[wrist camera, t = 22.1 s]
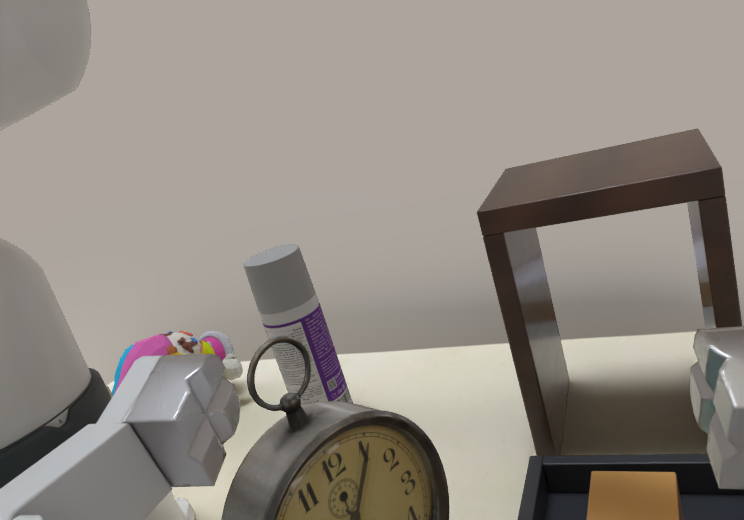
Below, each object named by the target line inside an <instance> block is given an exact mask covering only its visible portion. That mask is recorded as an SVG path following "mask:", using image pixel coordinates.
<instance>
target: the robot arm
mask: <svg viewBox="0 0 744 520" xmlns="http://www.w3.org/2000/svg"><path fill="white" fill-rule="evenodd" d="M90 46H91V23H90V13H89V9H88V4H87V0H0V131H1V130H3V129H5V128H6V127H8V126H10V125H12V124H14V123H16V122H18V121H20V120H22V119H24V118H26V117H28V116H29V115H31V114H33V113H35V112H37V111H39V110H41V109H43V108H44V107H46V106H48V105H49V104H51V103H53V102H55V101H57V100H58V99H60V98H62V97H64V96H65V95H67V94H69V93H71V92H72V91H74V90H75V89H76V88H77V87H78V86H79V84H80V81H81V79H82V77H83V75H84V72H85V69H86V65H87V62H88V58H89V52H90ZM693 348H694V351H695V354H696V356H697V359H698V362H697V363H695V364H694V365H693V366H692V367H691V372H690V395H691V403H692V407H693V412H694V415H695V418H696V422H697V425H698V427H699V428H701V429H702V430H703V431H704V432H706V433H707V434H708V441H707V448H706V452H707V455H708V458H709V461H710V464H711V467H712V469H713V472H714V475H715V478H716V481H717V484H718V487H719V489H744V326H741V327H724V328H707V329H698V330H697V332H696V334H695V338H694V346H693ZM224 371H225V366H224V364H223V362H222V361H221V359H220V357H219V355H214V354H187V355H165V356H142V357H140V358H139V359H137V360H135V361H134V363H133V365H132V366H131V368H130V369H129V371H128V373H127V374H126V376H125V378H124V379H123V381H122V382H121V384H120V386H119V387H118V389H117V391H116V392H115V394H114V395H112V393H111V391H110V389H109V387H108V386H107V387H106V385H105V384H104V381H103V380H102V378H101V376H100V374H99V373H98V371H96V370H94V369H91V368H88V366H87V364H86V362H85V360H84V358H83V356H82V353H81V351H80V349H79V347H78V345H77V343H76V341H75V338H74V336H73V334H72V332H71V330H70V327H69V325H68V323H67V321H66V319H65V317H64V314H63V312H62V310H61V308H60V306H59V304H58V302H57V299H56V297H55V295H54V293H53V291H52V289H51V287H50V284H49V282H48V280H47V278H46V276H45V274H44V271H43V269H42V268H41V267H40V266H39V264H38V263H37V262H36V261H35V260H34V259H33V258H32V257H31V256H29V255H28V254H27V253H26V252H24V251H23V250H21V249H20V248H18V247H17V246H15V245H13V244H11V243H9V242H7V241H5V240H3V239H0V520H195V513H194V510H193V508H192V506H191V505H190V503H189V502H188V500H187V499H184V498H177V499H175V497H174V495H173V494H172V492H171V490H172V488H171V487H189V486H214V485H215V482H216V480H217V477H218V474H219V472H220V469H221V467H222V464H223V462H224V459H225V457H226V452H225V450H224V447H223V444H224V443H225V442H226V441H227V440H228V439H229V438H230V437H232V436H233V435H234V433H235V431H236V428H237V425H238V422H239V415H240V401H239V396H238V393H237V391H236V388H235V386H234V384H232V383H231V382H229V381H228V380H226V379H225V378H224V377H222V375H223V373H224Z"/></svg>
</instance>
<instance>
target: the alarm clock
mask: <svg viewBox="0 0 744 520" xmlns="http://www.w3.org/2000/svg"><path fill="white" fill-rule="evenodd" d="M278 343H289V344H291V345H293V346H295V347H296V348H297V349H298V350H299V351H300V352H301V354H302V356H303V359H304V361H305V376H304V380H303V383H302V385H301V387H300V389H299V391H298V392H297V393H287V394H285V395H284V396H283V397H282V398H281V400H280V404H279V405H270V404H267V403H265V402H264V401H263V400H262V399H261V398H260V397H259V396H258V394H257V392H256V389H255V384H254V375H255V370H256V366H257V364H258V361H259V359H260V357H261V356H262V355H263V354H264V353H265V351H266V350H267V349H269V348H270V347H271V346H273V345H275V344H278ZM310 376H311V364H310V357H309V354H308V351H307V349H306V348H305V346H304V345H303V344H302V343H301V342H300V341H298V340H297V339H295V338H293V337H290V336H277V337H274V338H271V339H269V340H268V341H266V342H265V343H264V344H263V345H261V347H260V348H259V349H258V350H257V351H256V352H255V354H254V356H253V358H252V360H251V362H250V365H249V369H248V374H247V385H248V390H249V393H250V395H251V397H252V398H253V400H254V401H255V402H256V403H257V404H258V405H259V406H261V407H263V408H266V409H268V410H271V411H279V410H282V411H284V412H286V415H287V416H285V417H284V418H282V419H281V420H279V421H278V422H277V423H275V424H274V425H273V426H272V427H271V428H269V429H268V430H267V431H266V432H265V433H264V434H263V435H262V436H261V438H260V439H259V440H258V441H257V442H256V443H255V444H254V446H253V447H252V448H251V450H250V451H249V452H248V454H247V455H246V457H245V458H244V460H243V462H242V463H241V465H240V467H239V469H238V471H237V473H236V475H235V477H234V479H233V481H232V484H231V486H230V489H229V492H228V495H227V498H226V502H225V505H224V510H223V515H222V520H449V494H448V486H447V480H446V476H445V472H444V468H443V465H442V462H441V460H440V457H439V454H438V452H437V450H436V448H435V447H434V445H433V443H432V442H431V440H430V439H429V437H428V436H427V435H426V434H425V432H424V431H423V430H422V429H421V428H419V426H417V425H416V424H415V423H413V422H412V421H410V420H409V419H407V418H405V417H403V416H401V415H399V414H396V413H393V412H388V411H380V410H376V409H373V408H369V407H365V406H361V405H357V404H353V403H348V402H342V401H325V402H319V403H314V404H311V405H308V406H305V407H301V399H300V398H301V396H302V394H303V393H304V392H305V390H306V389H307V387H308V384H309V381H310Z"/></svg>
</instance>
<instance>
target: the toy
mask: <svg viewBox="0 0 744 520" xmlns="http://www.w3.org/2000/svg"><path fill="white" fill-rule="evenodd" d="M192 336H193V335H192V334H191V333H188V332H183V331H180V332H179V333H173V332H164V333H163V334H159V335H156V336H153V337H150V338H147V339H144V340H141V341H139V342H136V343H135V344H134V345H131V346H130V347H129V348H127V349H126V350H125V352H124V353H123V355H122V357H121V358H120V361H119V364H118V367H117V370H116V373H115V383H114V387H113V391H112V395H114V394H115V392H116V391H117V389H118V387H119V386H120V384H121V382H122V381H123V379H124V378H125V376H126V374H127V373H128V371H129V369H130V368H131V366H132V365H133V363H134V361H135V360H137V359H139V358H140V357H142V356H165V355H187V354H214V355H219V357H220V359H221V361H222V362H223V364H224V366H225V371H224V373H223V375H222V377H224V378H225V379H226V380H227V379H228V380H233V379H236V378H239V377H240V376H241V375H242V371H243V369H242V365H241V363H240V361H238V360H236V359H235V354H234V350H233V347H232V344H231V343H230V340H229V339H228V338H227V337H226V336H225V335H224V334H222V333H220V332H218V331H208V332H205V333H204V334H203V335H202V336H201V337H200V338H199V339H198V340H197V339H195V338H194V337H192Z"/></svg>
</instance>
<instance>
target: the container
mask: <svg viewBox="0 0 744 520" xmlns="http://www.w3.org/2000/svg"><path fill="white" fill-rule="evenodd" d="M243 265H244V268H245V271H246V274H247V277H248V280H249V283H250V286H251V289H252V292H253V295H254V298H255V301H256V304H257V307H258V310H259V313H260V316H261V319H262V322H263V325H264V328H265V331H266V333H267V336H268V339H271V338H274V337H277V336H290V337H293V338H295V339H297V340H298V341H300V342H301V343H302V344H303V345H304V346H305V348H306V349H307V351H308V354H309V357H310V364H311V376H310V381H309V384H308V387H307V389H306V390H305V392H304V393H303V394H302V396H301V398H300V399H301V407H305V406H308V405H311V404H314V403H319V402H325V401H342V402H348V403H353V402H352V399H351V396H350V393H349V390H348V387H347V384H346V381H345V378H344V375H343V372H342V369H341V366H340V363H339V360H338V357H337V354H336V352H335V348H334V346H333V342H332V339H331V336H330V333H329V330H328V327H327V324H326V321H325V318H324V315H323V312H322V309H321V306H320V303H319V301H318V298H317V295H316V293H315V290H314V287H313V284H312V282H311V279H310V276H309V273H308V271H307V268H306V265H305V262H304V260H303V257H302V254H301V251H300V249H299V246H298V245H295V244H288V245H282V246H278V247H274V248H271V249H268V250H265V251H263V252H260V253H258V254H256V255H254V256H252V257H250V258H249V259H247V260H246V261H245V262H244V264H243ZM271 347H272V350H273V352H274V355H275V358H276V361H277V363H278V366H279V369H280V371H281V374H282V377H283V380H284V382H285V385H286V388H287V391H288V393H297V392H298V391H299V389H300V387H301V385H302V383H303V380H304V376H305V361H304V359H303V356H302V354H301V352H300V351H299V350H298V349H297V348H296V347H295V346H293V345H291V344H289V343H278V344H275V345H273V346H271Z"/></svg>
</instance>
